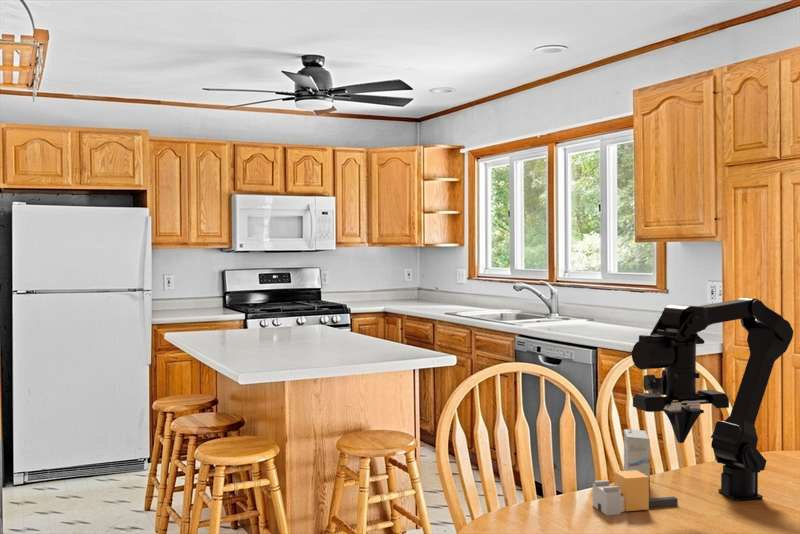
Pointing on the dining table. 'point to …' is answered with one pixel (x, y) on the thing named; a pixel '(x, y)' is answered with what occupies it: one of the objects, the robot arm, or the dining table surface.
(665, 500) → the bar
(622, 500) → the cream flat block
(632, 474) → the notched orange cube
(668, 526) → the dining table surface
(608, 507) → the grey i-beam piece
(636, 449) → the ink box
